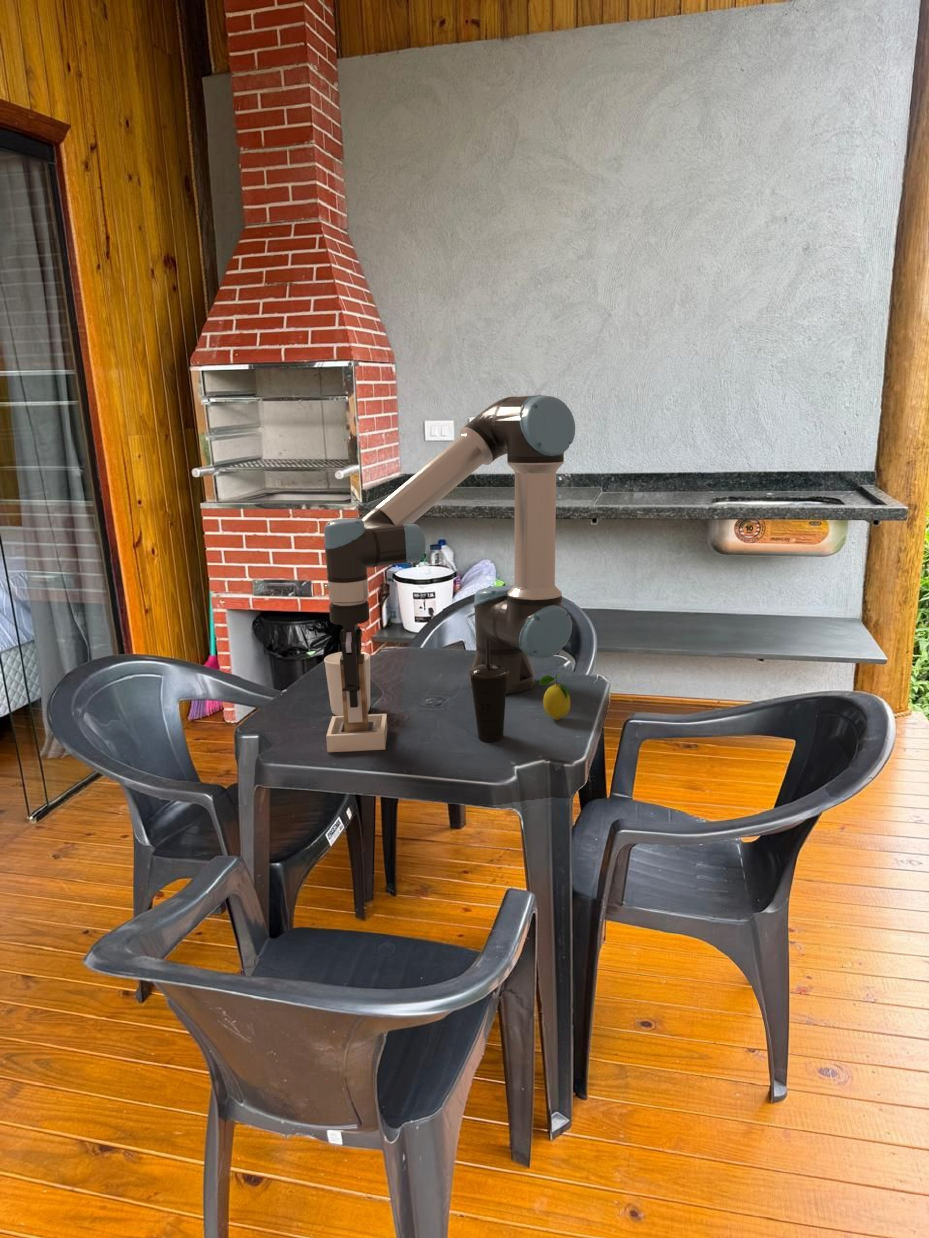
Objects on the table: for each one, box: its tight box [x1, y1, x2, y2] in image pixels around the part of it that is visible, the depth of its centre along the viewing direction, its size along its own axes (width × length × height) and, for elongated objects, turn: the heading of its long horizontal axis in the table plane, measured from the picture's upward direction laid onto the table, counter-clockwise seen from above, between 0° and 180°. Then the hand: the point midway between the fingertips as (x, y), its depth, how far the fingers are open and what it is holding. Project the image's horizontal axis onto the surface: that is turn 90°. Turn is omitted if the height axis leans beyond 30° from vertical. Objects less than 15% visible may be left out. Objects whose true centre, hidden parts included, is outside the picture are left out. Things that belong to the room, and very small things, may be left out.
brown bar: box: [340, 654, 369, 732], centre depth 172 cm, size 4×4×15 cm
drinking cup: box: [468, 639, 508, 743], centre depth 171 cm, size 8×8×20 cm
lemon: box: [538, 673, 572, 721], centre depth 180 cm, size 7×6×10 cm
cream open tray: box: [325, 713, 389, 753], centre depth 174 cm, size 11×11×3 cm
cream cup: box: [323, 651, 371, 716], centre depth 190 cm, size 10×10×12 cm
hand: (356, 717), depth 173 cm, fingers closed on brown bar, 3 cm apart
